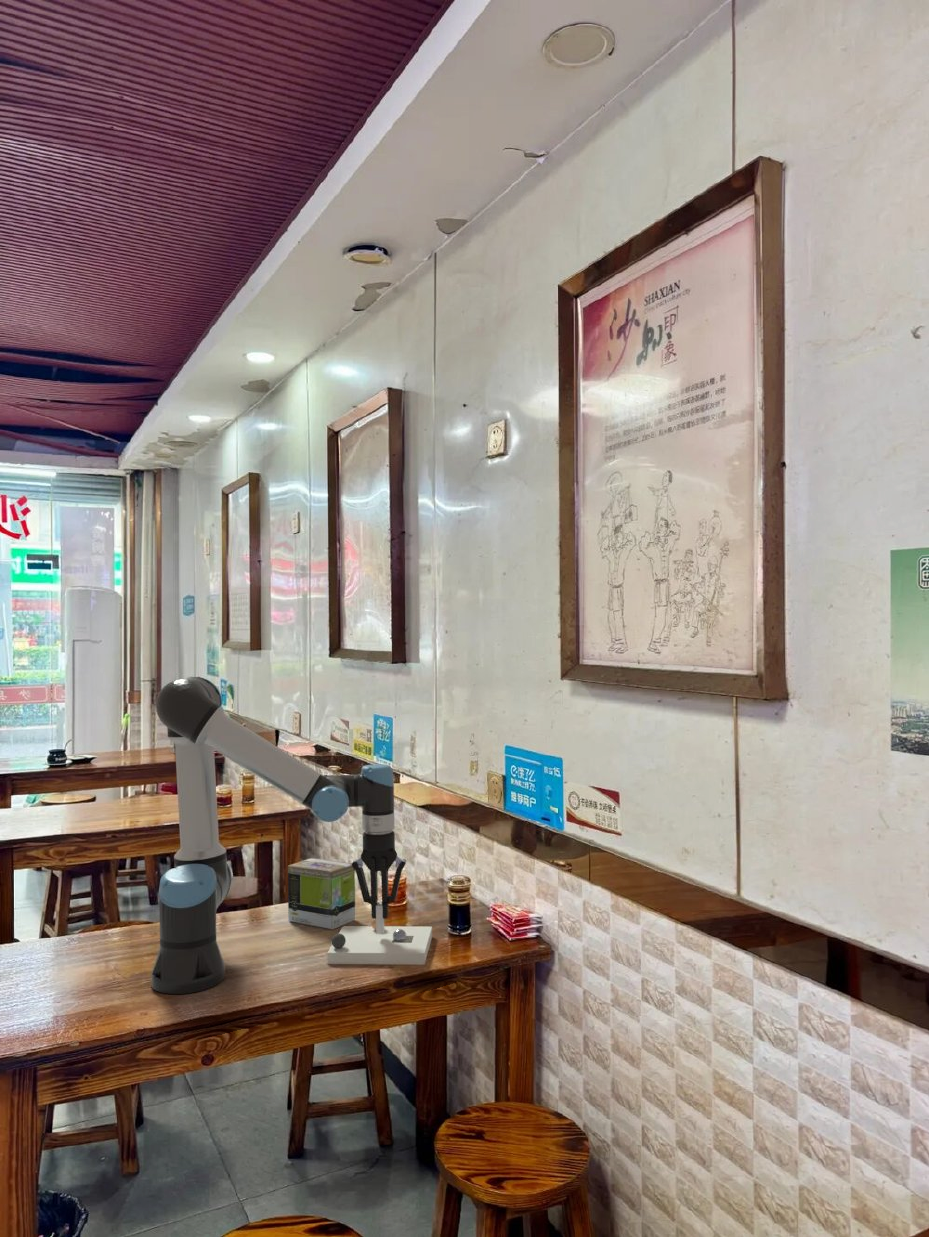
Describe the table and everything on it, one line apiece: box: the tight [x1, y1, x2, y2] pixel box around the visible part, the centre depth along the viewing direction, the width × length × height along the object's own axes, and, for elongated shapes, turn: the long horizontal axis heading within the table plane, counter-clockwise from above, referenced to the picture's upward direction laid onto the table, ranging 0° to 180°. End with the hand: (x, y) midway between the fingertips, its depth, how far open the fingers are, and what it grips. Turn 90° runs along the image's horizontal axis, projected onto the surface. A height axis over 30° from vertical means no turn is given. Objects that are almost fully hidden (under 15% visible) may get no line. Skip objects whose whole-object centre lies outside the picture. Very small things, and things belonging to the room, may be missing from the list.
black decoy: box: [331, 933, 346, 948], centre depth 197 cm, size 3×3×3 cm
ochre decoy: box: [370, 919, 376, 930], centre depth 209 cm, size 3×3×3 cm
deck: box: [326, 925, 433, 966], centre depth 202 cm, size 22×18×2 cm
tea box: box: [287, 857, 356, 930], centre depth 224 cm, size 15×10×15 cm
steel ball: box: [393, 929, 406, 943], centre depth 202 cm, size 3×3×3 cm
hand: (380, 931), depth 202 cm, fingers closed
